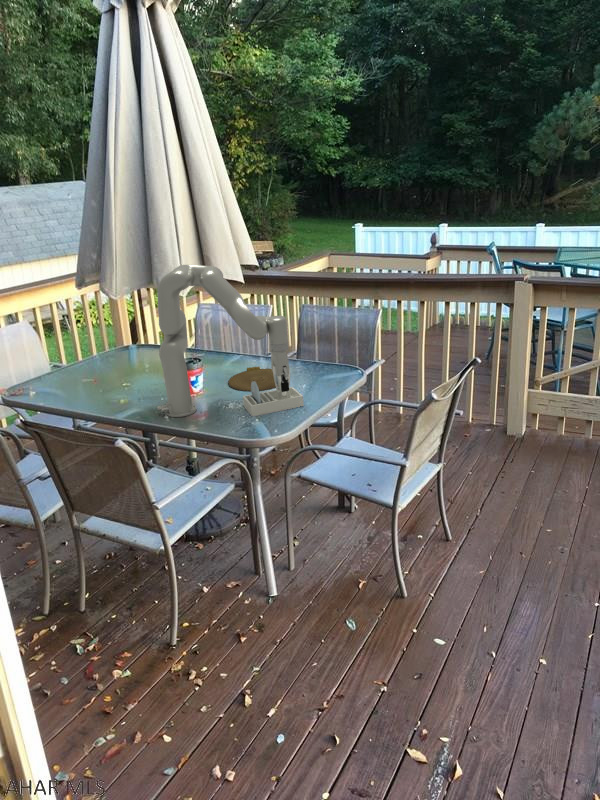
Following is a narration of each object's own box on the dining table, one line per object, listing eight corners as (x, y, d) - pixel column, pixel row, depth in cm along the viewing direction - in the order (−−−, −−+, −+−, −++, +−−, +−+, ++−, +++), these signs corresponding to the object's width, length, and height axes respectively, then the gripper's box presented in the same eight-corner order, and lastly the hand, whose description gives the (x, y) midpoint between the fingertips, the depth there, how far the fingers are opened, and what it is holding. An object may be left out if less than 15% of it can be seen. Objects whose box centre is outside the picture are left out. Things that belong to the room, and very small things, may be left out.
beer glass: (273, 401, 256) (270, 367, 250) (276, 396, 262) (273, 362, 257) (290, 401, 255) (287, 366, 249) (293, 395, 261) (290, 361, 256)
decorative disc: (237, 392, 273) (220, 371, 299) (237, 399, 274) (220, 378, 300) (298, 380, 282) (276, 361, 307) (298, 387, 283) (276, 367, 309)
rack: (252, 416, 249) (249, 388, 245) (243, 406, 260) (240, 379, 256) (303, 406, 255) (301, 378, 251) (293, 396, 267) (291, 370, 263)
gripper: (264, 343, 257) (267, 384, 263) (276, 353, 242) (280, 396, 248) (281, 340, 259) (284, 381, 266) (295, 350, 244) (298, 393, 250)
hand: (282, 388), depth 257 cm, fingers closed on beer glass, 6 cm apart
